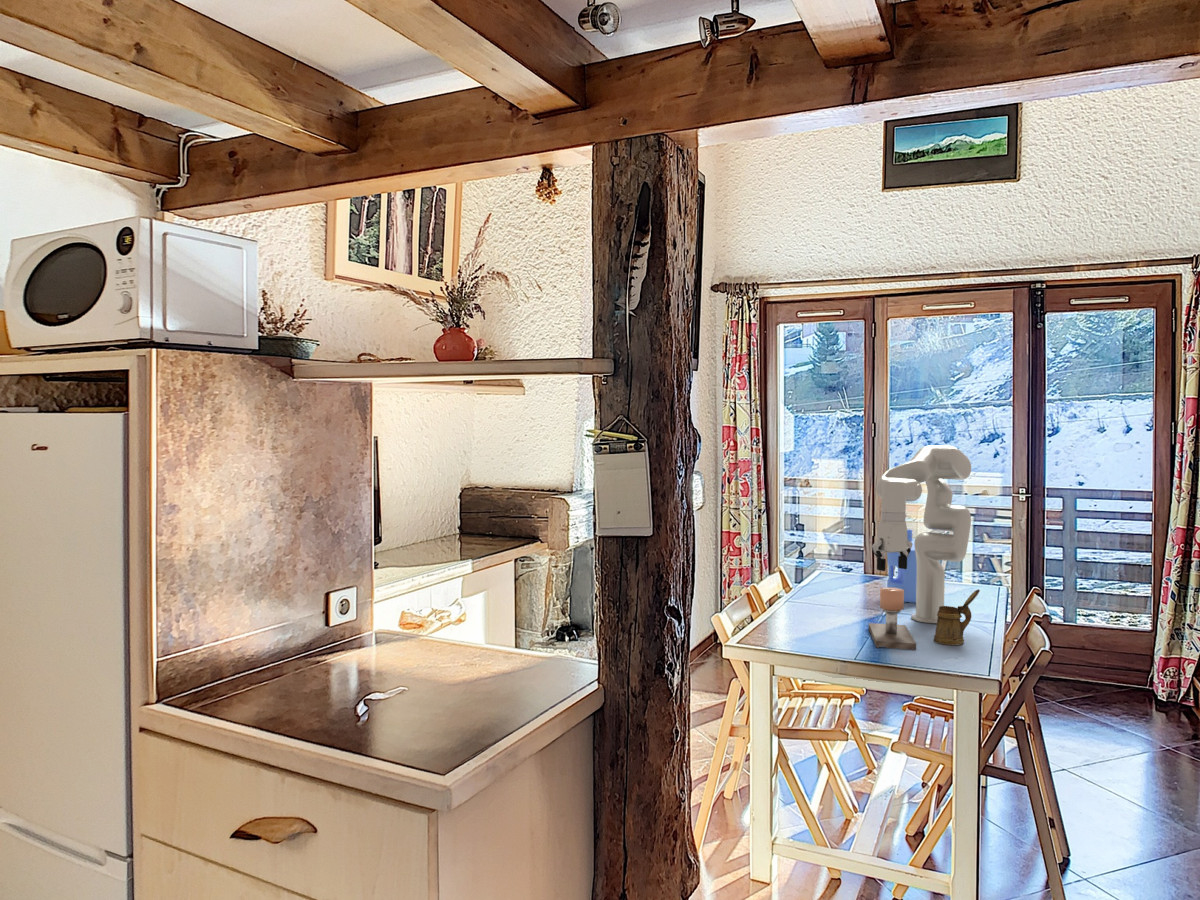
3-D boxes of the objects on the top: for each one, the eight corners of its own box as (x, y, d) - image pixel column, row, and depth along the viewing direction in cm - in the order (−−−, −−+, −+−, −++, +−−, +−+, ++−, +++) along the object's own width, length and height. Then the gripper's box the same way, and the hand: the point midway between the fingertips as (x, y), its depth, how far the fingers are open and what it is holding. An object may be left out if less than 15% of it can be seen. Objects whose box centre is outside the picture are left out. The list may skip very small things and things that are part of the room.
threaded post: (899, 631, 278) (899, 607, 278) (901, 635, 273) (901, 611, 272) (881, 630, 279) (881, 606, 279) (883, 634, 274) (883, 610, 274)
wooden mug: (979, 648, 265) (980, 592, 265) (933, 643, 270) (934, 588, 269) (977, 641, 273) (979, 586, 273) (933, 637, 278) (934, 583, 278)
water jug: (923, 595, 344) (924, 528, 343) (931, 604, 328) (932, 533, 327) (883, 594, 347) (884, 527, 346) (889, 602, 331) (891, 532, 330)
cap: (901, 605, 278) (902, 587, 278) (905, 610, 271) (905, 591, 271) (878, 604, 280) (879, 586, 280) (881, 609, 273) (881, 590, 273)
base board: (905, 630, 286) (905, 625, 286) (916, 649, 263) (916, 643, 263) (868, 628, 289) (868, 623, 289) (876, 647, 266) (876, 641, 266)
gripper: (903, 515, 282) (901, 566, 282) (865, 517, 274) (863, 569, 274) (921, 517, 275) (919, 569, 276) (882, 519, 267) (881, 573, 268)
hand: (891, 569), depth 275 cm, fingers open, 9 cm apart
